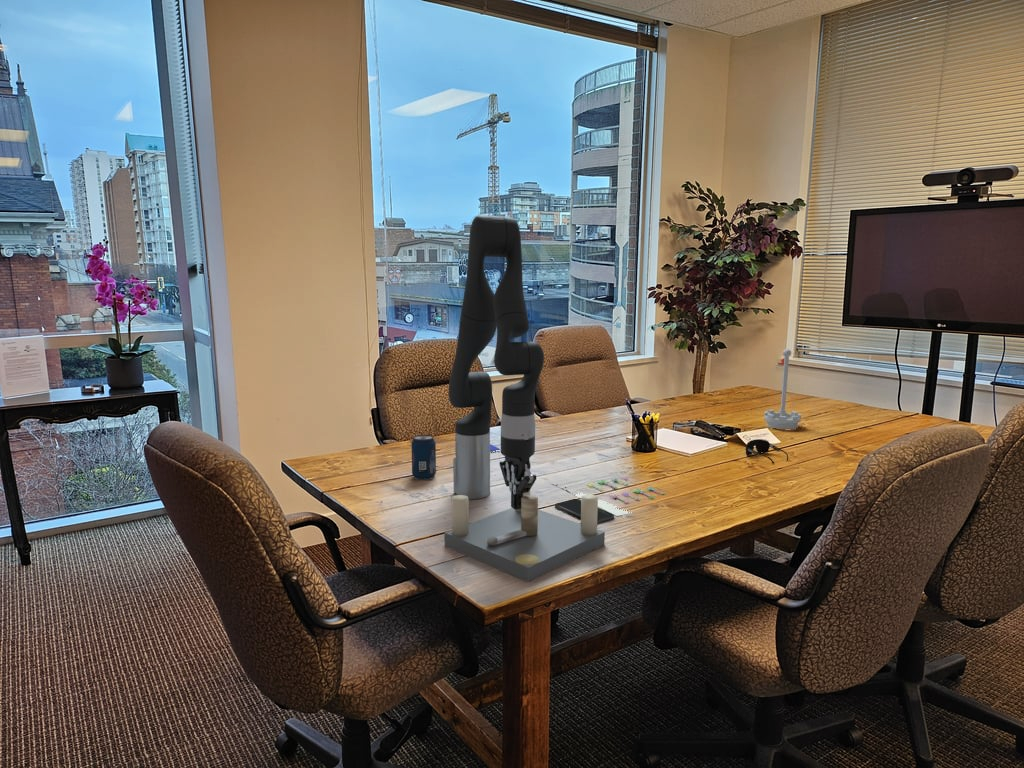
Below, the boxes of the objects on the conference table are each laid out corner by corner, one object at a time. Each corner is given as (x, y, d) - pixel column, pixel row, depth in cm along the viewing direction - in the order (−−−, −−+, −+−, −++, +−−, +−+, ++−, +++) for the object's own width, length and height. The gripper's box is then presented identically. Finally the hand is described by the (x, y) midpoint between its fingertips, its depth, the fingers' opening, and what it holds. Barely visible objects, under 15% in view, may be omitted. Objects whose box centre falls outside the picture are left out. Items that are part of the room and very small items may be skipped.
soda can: (413, 473, 200) (412, 433, 198) (437, 473, 200) (436, 434, 198) (410, 480, 194) (409, 440, 191) (434, 480, 194) (434, 440, 191)
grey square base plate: (444, 545, 149) (443, 497, 147) (522, 515, 167) (522, 472, 165) (527, 582, 132) (528, 528, 130) (604, 544, 150) (605, 497, 148)
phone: (592, 522, 161) (552, 504, 173) (592, 526, 161) (552, 508, 173) (616, 515, 165) (576, 498, 177) (616, 519, 165) (576, 502, 177)
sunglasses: (764, 451, 225) (767, 437, 224) (792, 465, 215) (795, 451, 213) (740, 455, 221) (742, 441, 219) (767, 469, 210) (770, 454, 209)
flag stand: (806, 430, 253) (812, 351, 248) (771, 431, 253) (777, 351, 247) (791, 422, 266) (797, 347, 260) (758, 422, 265) (763, 347, 260)
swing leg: (493, 547, 140) (492, 511, 138) (483, 542, 142) (482, 506, 141) (541, 533, 147) (541, 498, 146) (530, 528, 150) (530, 494, 149)
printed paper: (549, 483, 192) (549, 478, 192) (630, 470, 207) (631, 465, 207) (616, 517, 167) (617, 511, 166) (704, 498, 182) (704, 493, 182)
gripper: (488, 427, 151) (488, 501, 154) (517, 442, 140) (516, 521, 143) (517, 424, 155) (516, 495, 158) (548, 438, 143) (546, 515, 147)
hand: (516, 508), depth 150 cm, fingers closed
